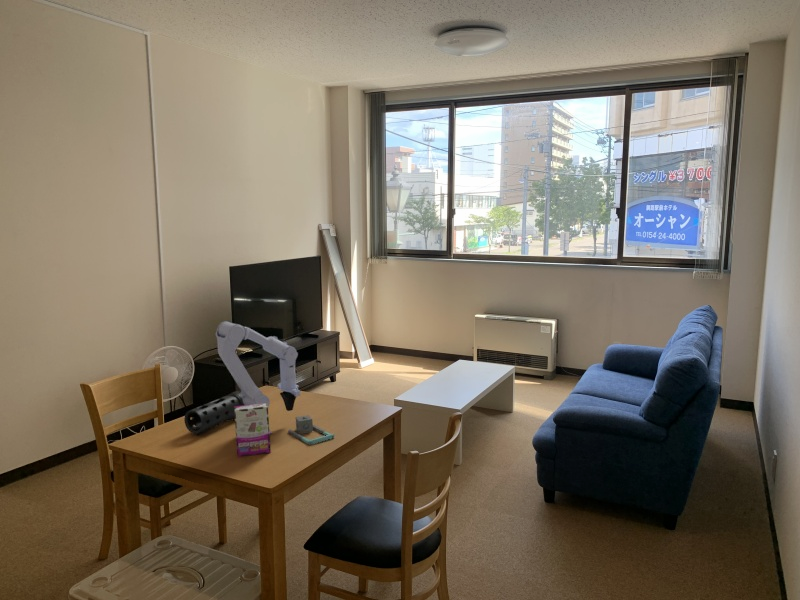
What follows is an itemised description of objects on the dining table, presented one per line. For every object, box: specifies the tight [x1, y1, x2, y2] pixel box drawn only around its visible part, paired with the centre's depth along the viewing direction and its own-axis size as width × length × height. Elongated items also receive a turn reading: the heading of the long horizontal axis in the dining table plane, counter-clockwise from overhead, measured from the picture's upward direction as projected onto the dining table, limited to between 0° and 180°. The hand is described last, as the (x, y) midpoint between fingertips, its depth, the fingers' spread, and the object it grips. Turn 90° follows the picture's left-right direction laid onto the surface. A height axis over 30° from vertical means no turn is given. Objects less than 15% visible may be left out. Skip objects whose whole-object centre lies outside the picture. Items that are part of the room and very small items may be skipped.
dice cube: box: [295, 414, 314, 435], centre depth 224 cm, size 5×5×5 cm
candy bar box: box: [234, 403, 271, 458], centre depth 203 cm, size 11×5×16 cm, turn 106°
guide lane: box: [287, 424, 335, 446], centre depth 219 cm, size 10×16×2 cm, turn 38°
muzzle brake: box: [184, 390, 244, 436], centre depth 232 cm, size 10×28×10 cm, turn 154°
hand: (289, 410), depth 231 cm, fingers closed
